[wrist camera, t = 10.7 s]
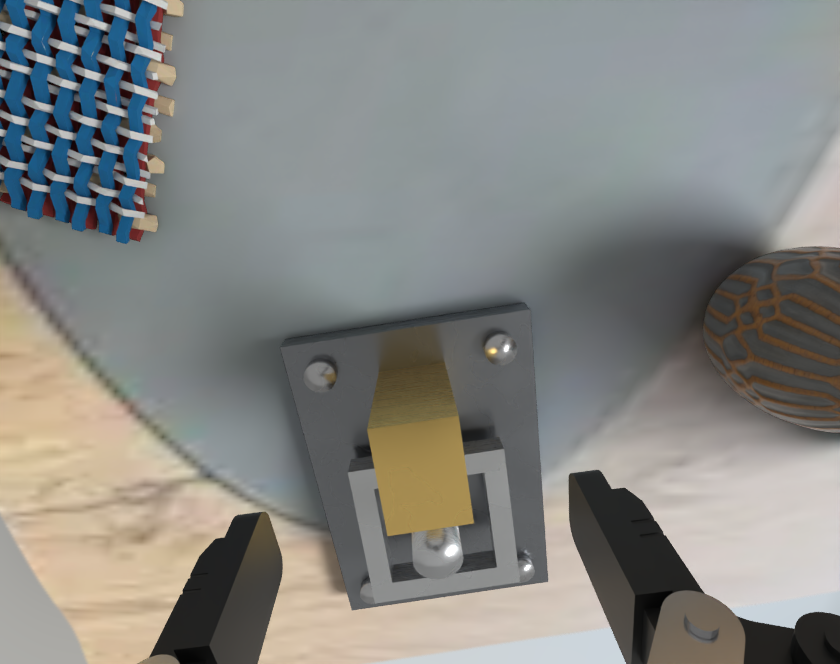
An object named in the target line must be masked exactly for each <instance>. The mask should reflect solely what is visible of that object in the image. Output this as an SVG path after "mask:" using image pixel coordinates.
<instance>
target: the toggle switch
mask: <svg viewBox="0 0 840 664" xmlns="http://www.w3.org/2000/svg"><path fill="white" fill-rule="evenodd" d="M280 350H281V353H282V357H283V360H284V364H285V368H286V371H287V375H288V379H289V382H290V386H291V390H292V393H293V397H294V401H295V404H296V408H297V412H298V415H299V419H300V422H301V426H302V430H303V433H304V437H305V441H306V444H307V448H308V452H309V455H310V459H311V463H312V466H313V470H314V474H315V477H316V481H317V484H318V488H319V492H320V495H321V499H322V503H323V506H324V510H325V514H326V517H327V521H328V525H329V528H330V532H331V536H332V539H333V543H334V546H335V550H336V554H337V557H338V561H339V565H340V568H341V572H342V576H343V579H344V583H345V587H346V590H347V594H348V598H349V601H350V605H351V608H352V610H357V609H364V608H371V607H378V606H385V605H392V604H398V603H405V602H412V601H419V600H426V599H433V598H439V597H446V596H453V595H460V594H467V593H474V592H481V591H487V590H494V589H501V588H508V587H515V586H522V585H528V584H535V583H542V582H548V572H547V556H546V541H545V526H544V511H543V495H542V480H541V465H540V450H539V434H538V419H537V404H536V389H535V373H534V358H533V343H532V328H531V312H530V309H529V307H528V306H527V305H526V304H525V303H519V304H513V305H506V306H500V307H493V308H487V309H480V310H474V311H467V312H461V313H454V314H447V315H441V316H434V317H428V318H421V319H415V320H408V321H402V322H395V323H388V324H382V325H375V326H369V327H362V328H356V329H349V330H343V331H336V332H330V333H323V334H316V335H310V336H303V337H297V338H290V339H285V340H284V342H283V344H282V345H281V347H280ZM443 362H445V365H446V369H447V373H448V377H449V380H450V384H451V388H452V392H453V396H454V400H455V404H456V407H457V411H458V415H459V422H460V429H461V436H462V442H469V441H475V440H482V439H488V438H495V437H499V438H500V440H501V443H502V445H503V448H504V452H505V461H506V469H507V477H508V485H509V494H510V502H511V510H512V518H513V527H514V535H515V543H516V552H517V560H518V568H519V576H520V582H518V583H511V584H504V585H498V586H491V587H484V588H477V589H470V590H464V591H457V592H450V593H443V594H436V595H430V596H423V597H416V598H409V599H402V600H396V601H389V602H382V603H375V601H374V596H373V592H372V587H371V582H370V577H369V572H368V567H367V563H366V558H365V553H364V548H363V543H362V539H361V534H360V529H359V524H358V519H357V514H356V510H355V505H354V500H353V495H352V490H351V485H350V481H349V476H348V470H349V466H350V461H351V459H356V458H362V457H369V456H372V453H371V447H370V442H369V437H368V432H367V428H368V423H369V418H370V413H371V408H372V403H373V398H374V393H375V388H376V383H377V378H378V373H379V372H384V371H390V370H397V369H403V368H410V367H417V366H423V365H430V364H436V363H443ZM467 478H468V485H469V492H470V499H471V506H472V513H473V520H474V523H473V524H467V525H460V526H453V527H446V528H440V529H433V530H426V531H419V532H413V533H406V534H399V535H393V536H388V541H389V546H390V552H391V557H392V562H393V565H395V564H402V563H409V562H413V565H414V568H415V569H416V571H417V572H418V573H419V574H421V575H422V576H424V577H427V578H430V579H443V578H447V577H449V576H451V575H453V574H455V573H456V572H457V571H458V570H459V569H460V567H461V566H462V563H463V554H470V553H477V552H483V551H490V550H493V549H492V542H491V535H490V527H489V520H488V512H487V505H486V497H485V490H484V483H483V475H482V473H478V474H471V475H467ZM380 500H381V499H380ZM385 526H386V525H385Z"/></svg>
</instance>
